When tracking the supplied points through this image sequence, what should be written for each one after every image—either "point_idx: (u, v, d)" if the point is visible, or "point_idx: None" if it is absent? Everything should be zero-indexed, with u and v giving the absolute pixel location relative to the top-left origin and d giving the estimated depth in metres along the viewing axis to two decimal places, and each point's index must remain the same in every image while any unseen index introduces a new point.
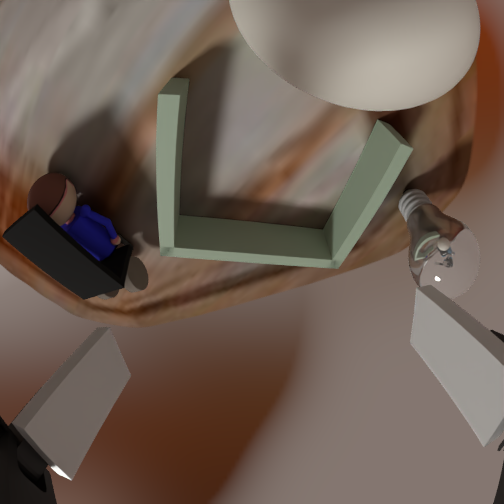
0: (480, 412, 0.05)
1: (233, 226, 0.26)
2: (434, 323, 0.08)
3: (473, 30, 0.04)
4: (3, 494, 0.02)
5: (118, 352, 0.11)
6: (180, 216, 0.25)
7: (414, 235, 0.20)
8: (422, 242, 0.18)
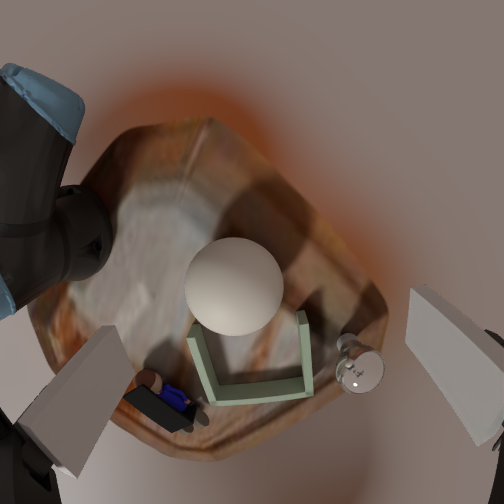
0: (473, 411, 0.05)
1: (248, 386, 0.42)
2: (428, 322, 0.08)
3: (251, 297, 0.27)
4: (7, 494, 0.02)
5: (123, 350, 0.11)
6: (219, 386, 0.43)
7: None
8: (335, 367, 0.33)
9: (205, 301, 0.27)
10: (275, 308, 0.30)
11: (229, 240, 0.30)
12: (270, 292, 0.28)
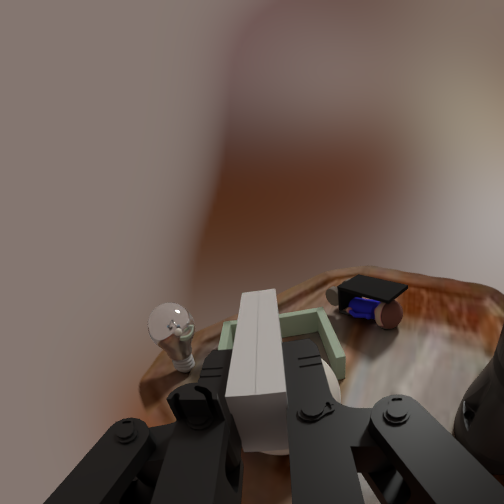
0: None
1: (288, 332, 0.45)
2: None
3: None
4: None
5: None
6: (317, 330, 0.45)
7: (192, 338, 0.38)
8: (192, 331, 0.37)
9: None
10: None
11: None
12: None
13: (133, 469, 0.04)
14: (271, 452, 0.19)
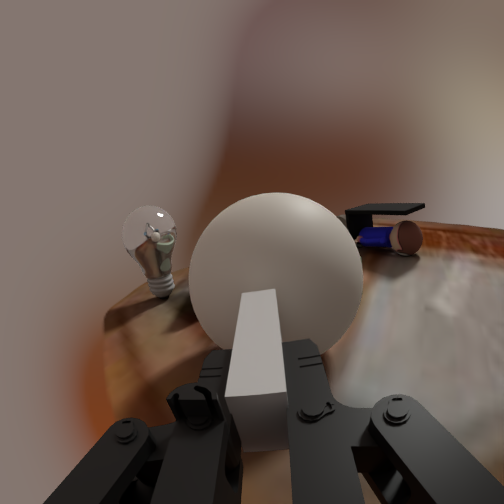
0: None
1: None
2: None
3: (225, 209, 0.17)
4: None
5: None
6: None
7: (172, 249, 0.33)
8: (172, 237, 0.31)
9: (301, 197, 0.16)
10: None
11: None
12: None
13: (132, 469, 0.04)
14: None
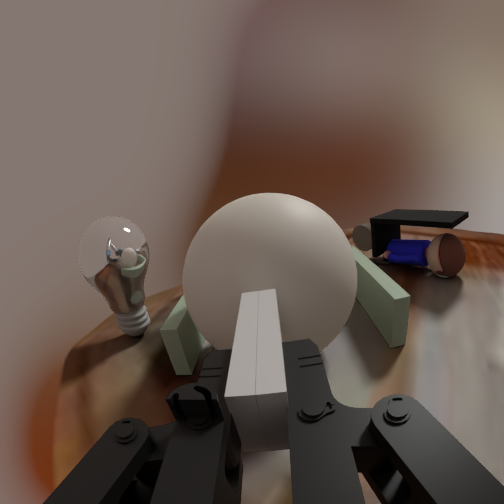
0: None
1: None
2: None
3: None
4: None
5: None
6: None
7: (144, 275, 0.23)
8: (142, 260, 0.22)
9: None
10: None
11: (240, 207, 0.15)
12: None
13: (132, 469, 0.04)
14: (233, 238, 0.14)
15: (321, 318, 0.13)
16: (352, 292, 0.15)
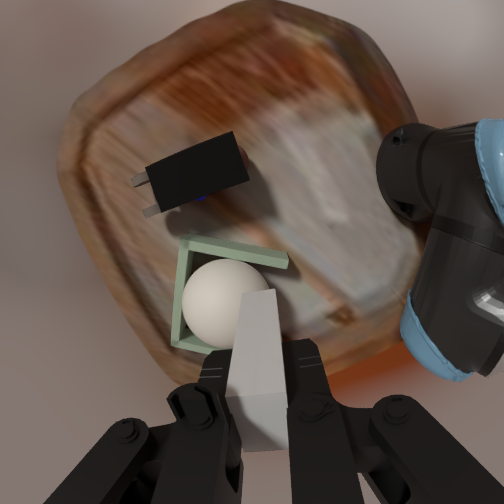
0: None
1: (189, 277, 0.39)
2: None
3: None
4: None
5: None
6: None
7: None
8: None
9: None
10: None
11: (210, 311, 0.29)
12: None
13: (133, 469, 0.04)
14: (230, 319, 0.29)
15: None
16: (256, 271, 0.34)
